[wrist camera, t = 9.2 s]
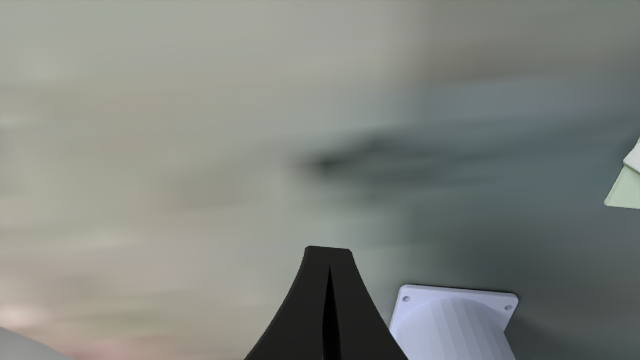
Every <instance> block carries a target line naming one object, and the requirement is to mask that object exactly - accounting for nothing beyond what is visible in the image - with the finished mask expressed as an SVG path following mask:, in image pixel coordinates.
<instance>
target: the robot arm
mask: <svg viewBox="0 0 640 360" xmlns="http://www.w3.org/2000/svg"><path fill="white" fill-rule="evenodd" d="M406 296H408V297H406ZM517 304H518V298H517V297H516V295H515V294H512V293H500V292H489V291H477V290H466V289H454V288H443V287H431V286H419V285H404V286H402V287H401V288H400V290H399V294H398V298H397V301H396V305H395V309H394V312H393V316H392V320H391V323H390V327H389V329H388V328H387V326H386V324H385V323H384V321H383V319H382V318H381V316H380V314H379V312H378V310H377V309H376V307H375V305H374V303H373V301H372V299H371V297H370V295H369V293H368V291H367V289H366V287H365V285H364V283H363V281H362V278H361V276H360V274H359V271H358V269H357V266H356V264H355V261H354V258H353V255H352V252H351V251H350V250H349V249H343V248H331V247H320V246H308V247H306V248H305V252H304V256H303V260H302V263H301V266H300V268H299V271H298V273H297V276H296V278H295V280H294V282H293V284H292V286H291V288H290V290H289V292H288V294H287V296H286V298H285V300H284V301H283V303H282V305H281V306H280V308H279V310H278V312H277V313H276V315H275V317H274V318H273V320H272V321H271V323H270V325H269V326H268V328H267V329H266V331H265V332H264V333H263V335H262V336H261V338H260V339H259V341H258V342H257V343H256V345H255V346H254V347H253V349H252V350H251V351H250V352H249V354H248V355H247V356H246V358H245V359H244V360H322V356H323V360H516V359H515V357H514V355H513V352H512V350H511V348H510V346H509V344H508V341H507V339H506V337H505V335H504V333H503V332H504V330H505V328H506V326H507V324H508V322H509V320H510V318H511V316H512V314H513V312H514V310H515V308H516V306H517ZM507 305H508V306H507Z"/></svg>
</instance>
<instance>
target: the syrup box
mask: <svg viewBox="0 0 640 360" xmlns="http://www.w3.org/2000/svg"><path fill="white" fill-rule="evenodd" d="M623 164H624V165H625V166H626V167H628V168H629V169H631V170H633V171H634V172H636V173H637V174H638V175H640V142H639V143H638V144H637V145H636V146H635V147H634V148H633V150H632V151H631V152H630V153H629V154H628V155H627V156H626V157H625V159H624V160H623Z"/></svg>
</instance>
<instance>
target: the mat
mask: <svg viewBox="0 0 640 360" xmlns="http://www.w3.org/2000/svg"><path fill="white" fill-rule="evenodd" d="M639 142H640V138H639V140H638V142H637V143H636V145H637V144H638V143H639ZM636 145H635V146H636ZM604 203H605V204H606V205H607V206H616V207H626V208H637V209H640V175H638V174H637V173H636V172H634V171H633V170H631V169H629V168H628V167H626V166H625V165H624V167H623V169H622V171H621V172H620V174H619V176H618V178H617V180H616V181H615V183H614V185H613V187H612V189H611V191H610V192H609V194H608V196H607V198H606V200H605V201H604Z"/></svg>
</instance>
